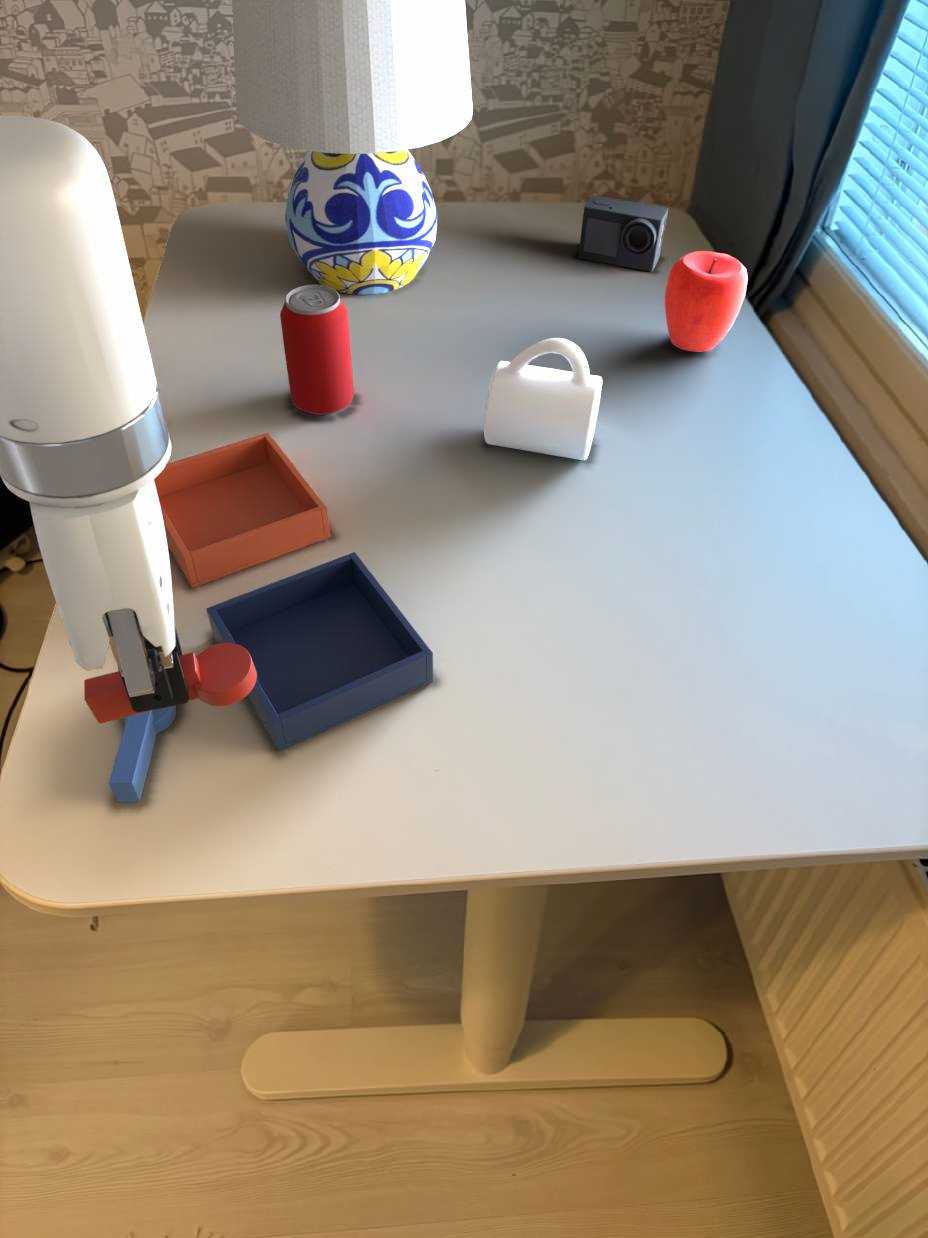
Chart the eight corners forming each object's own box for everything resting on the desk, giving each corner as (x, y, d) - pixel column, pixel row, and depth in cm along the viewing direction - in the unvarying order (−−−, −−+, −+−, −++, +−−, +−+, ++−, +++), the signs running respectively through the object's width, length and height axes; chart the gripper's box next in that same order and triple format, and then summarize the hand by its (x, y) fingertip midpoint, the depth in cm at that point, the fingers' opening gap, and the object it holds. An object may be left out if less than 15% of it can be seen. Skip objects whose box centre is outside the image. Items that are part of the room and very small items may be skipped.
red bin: (192, 588, 79) (184, 558, 76) (143, 503, 86) (134, 473, 84) (330, 537, 84) (327, 507, 81) (272, 460, 91) (268, 431, 89)
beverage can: (337, 378, 102) (328, 275, 93) (365, 408, 98) (358, 304, 89) (281, 394, 99) (266, 290, 90) (307, 426, 95) (294, 321, 87)
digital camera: (574, 261, 123) (580, 209, 117) (585, 245, 126) (591, 193, 121) (650, 276, 120) (660, 223, 115) (659, 258, 124) (668, 206, 119)
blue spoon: (156, 801, 64) (148, 783, 63) (101, 802, 64) (92, 783, 62) (180, 695, 71) (174, 676, 69) (131, 696, 71) (123, 676, 69)
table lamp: (270, 331, 108) (210, -90, 79) (251, 232, 126) (197, -141, 97) (490, 310, 113) (511, -95, 84) (443, 217, 131) (446, -143, 102)
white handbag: (499, 414, 98) (506, 310, 89) (595, 430, 96) (611, 326, 87) (481, 459, 92) (487, 353, 83) (582, 477, 91) (598, 370, 82)
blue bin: (279, 752, 67) (273, 723, 65) (213, 637, 75) (205, 608, 72) (433, 681, 72) (433, 652, 70) (357, 580, 80) (354, 551, 77)
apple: (675, 371, 104) (695, 281, 97) (642, 333, 110) (658, 245, 102) (743, 359, 107) (768, 270, 99) (707, 323, 112) (727, 236, 104)
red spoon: (99, 739, 53) (84, 715, 51) (98, 690, 56) (83, 665, 54) (260, 697, 54) (251, 672, 53) (252, 650, 57) (243, 625, 55)
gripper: (-1, 350, 45) (93, 608, 59) (-23, 558, 35) (96, 814, 48) (155, 334, 47) (212, 589, 60) (178, 528, 37) (240, 784, 50)
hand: (160, 688), depth 54 cm, fingers closed on red spoon, 1 cm apart
